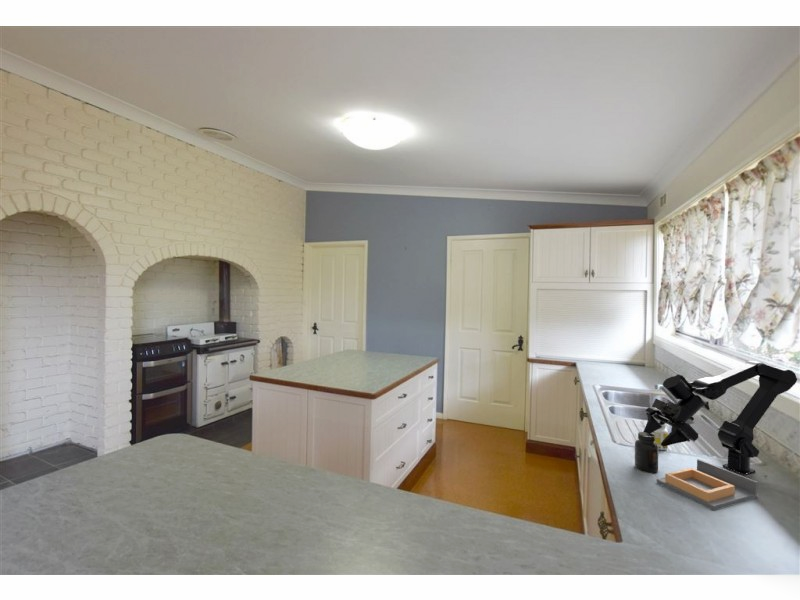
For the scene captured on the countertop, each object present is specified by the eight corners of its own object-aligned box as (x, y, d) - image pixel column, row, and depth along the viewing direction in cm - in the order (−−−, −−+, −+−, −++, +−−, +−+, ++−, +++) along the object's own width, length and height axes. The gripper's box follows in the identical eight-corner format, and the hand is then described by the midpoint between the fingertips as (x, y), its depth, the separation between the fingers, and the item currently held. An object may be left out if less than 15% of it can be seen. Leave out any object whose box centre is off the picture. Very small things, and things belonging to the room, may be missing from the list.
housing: (698, 472, 126) (698, 459, 126) (757, 497, 111) (757, 481, 111) (656, 482, 119) (657, 468, 119) (713, 510, 104) (713, 493, 104)
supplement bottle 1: (650, 464, 132) (651, 431, 132) (662, 474, 125) (663, 438, 125) (630, 463, 133) (631, 430, 132) (640, 473, 126) (641, 437, 126)
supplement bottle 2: (664, 445, 148) (665, 421, 148) (669, 451, 143) (670, 425, 143) (648, 443, 150) (649, 419, 150) (653, 449, 145) (653, 424, 145)
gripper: (651, 385, 138) (620, 414, 138) (690, 399, 119) (654, 433, 119) (671, 406, 138) (640, 435, 138) (714, 424, 119) (678, 458, 119)
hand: (652, 440), depth 129 cm, fingers open, 9 cm apart
